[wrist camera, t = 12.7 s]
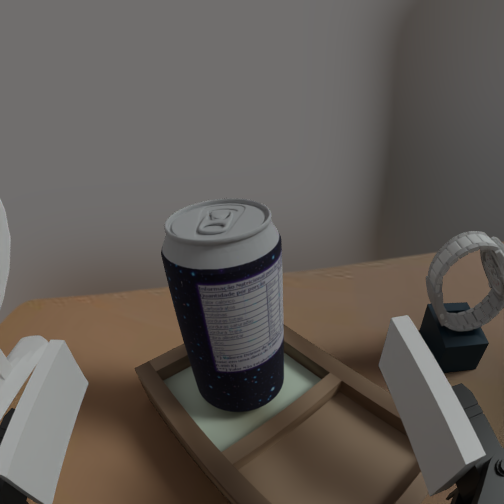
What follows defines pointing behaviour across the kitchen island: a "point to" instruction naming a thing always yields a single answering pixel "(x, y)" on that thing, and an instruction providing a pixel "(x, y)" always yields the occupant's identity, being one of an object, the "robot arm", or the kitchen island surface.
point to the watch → (462, 304)
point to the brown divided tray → (293, 433)
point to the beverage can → (228, 299)
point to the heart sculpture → (27, 349)
